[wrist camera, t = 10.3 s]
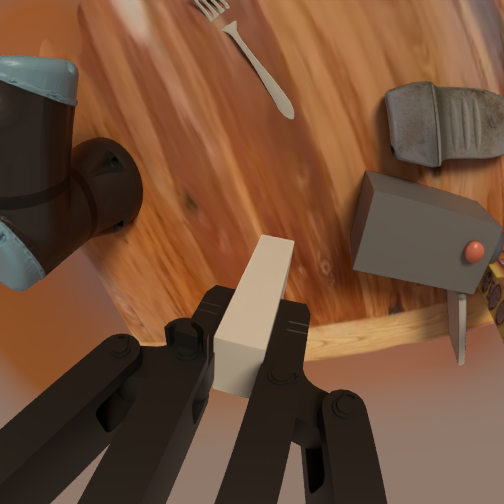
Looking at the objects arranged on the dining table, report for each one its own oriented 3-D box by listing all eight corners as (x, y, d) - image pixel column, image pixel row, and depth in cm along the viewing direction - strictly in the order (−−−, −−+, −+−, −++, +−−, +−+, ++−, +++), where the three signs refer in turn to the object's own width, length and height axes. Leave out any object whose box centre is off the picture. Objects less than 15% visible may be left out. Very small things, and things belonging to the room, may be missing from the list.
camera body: (349, 237, 39) (352, 274, 31) (365, 169, 34) (375, 193, 27) (465, 263, 36) (486, 301, 28) (487, 205, 31) (518, 235, 24)
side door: (443, 264, 36) (458, 295, 30) (455, 261, 36) (471, 290, 30) (448, 334, 41) (457, 366, 35) (458, 331, 41) (468, 362, 35)
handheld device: (521, 160, 27) (539, 169, 23) (389, 162, 33) (397, 172, 29) (518, 88, 23) (537, 90, 19) (378, 83, 29) (385, 82, 25)
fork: (294, 145, 35) (292, 148, 34) (190, -4, 28) (184, -7, 26) (317, 133, 34) (317, 135, 32) (210, -18, 26) (205, -22, 25)
